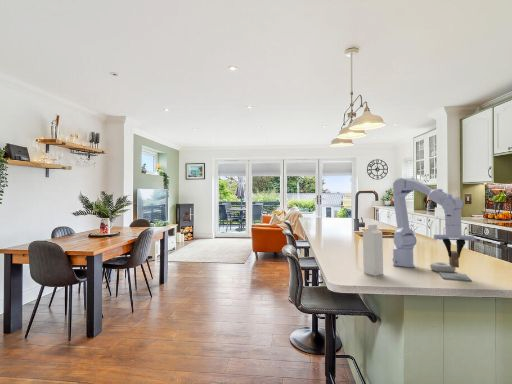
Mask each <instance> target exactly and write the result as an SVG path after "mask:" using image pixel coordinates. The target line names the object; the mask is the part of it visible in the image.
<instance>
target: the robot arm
mask: <svg viewBox="0 0 512 384" xmlns="http://www.w3.org/2000/svg"><path fill="white" fill-rule="evenodd" d="M392 187H393V193H392V199H393V207H394V213H395V214H394V215H395V219H396V220H395V221H396V225H397V227H396V228H397V229H396V230H395V231H394V233H393V235H394V236H393V244H394V246H395V247H392V255H393V256H392V263H393V266H394V267H403V268H404V267H406V268H415V267H416V266H415V263H414V248H415V246H416V245H417V238H416V236H415V232H414V231H413V230H412V228H410V222H409V216H408V210H407V209H408V208H407V202H406V197H407V196H408V195H409V194H410V193H412V192H413V191H418V192H420V193H423V194H425V195H426V196H428V198H429V200H430V201H432V202H434V203H435V204H437V205H439V206H441V208H442V210H444V219H445V221H444V222H445V224H444V228H445V234H433V240H442V243H443V244H444V246H445V248H446V251H447V254H448V257H451V251H452V241H456V242H455V244H456V252H458V254H459V259H460V257H461V253H462V250H463V248H464V247H465V244H466V241H468V242H469V241H470V242H475V240H476V239H475V238H476V237H475V236H474V235H462V209H463V208H464V206H465V204H464V203H465V202H464V200H463V199H462V198H460V197H459V196H453V194H452V193H447V192H445V191H444V189H442V188H434V189H433V188H431V187H429V186H427V185H426V184H424V183H423V182H421V181H419V179H415V178H413V177H410V178H409V177H408V178H404V177H398V178H396V179H395V180H394V182H393V183H392Z"/></svg>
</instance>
